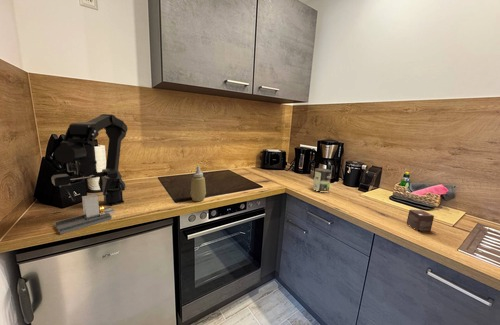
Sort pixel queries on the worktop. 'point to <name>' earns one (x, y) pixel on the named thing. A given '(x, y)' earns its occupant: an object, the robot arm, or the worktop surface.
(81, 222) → the rail
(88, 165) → the robot arm
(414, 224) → the box
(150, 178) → the worktop surface
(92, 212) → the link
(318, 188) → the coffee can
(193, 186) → the squeeze bottle
